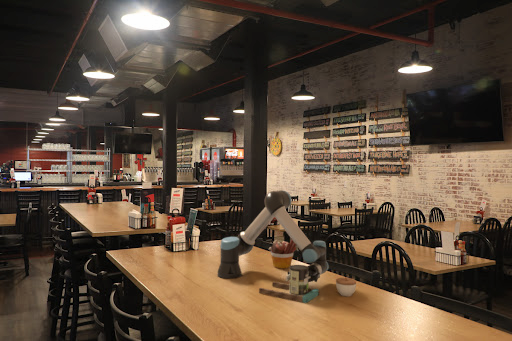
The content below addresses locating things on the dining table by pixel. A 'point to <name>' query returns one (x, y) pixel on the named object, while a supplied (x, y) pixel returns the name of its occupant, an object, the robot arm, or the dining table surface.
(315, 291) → the bar
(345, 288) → the lidded jar
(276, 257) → the bucket of meat
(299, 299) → the guide rails
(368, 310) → the dining table surface
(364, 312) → the dining table surface
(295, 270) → the coffee can
